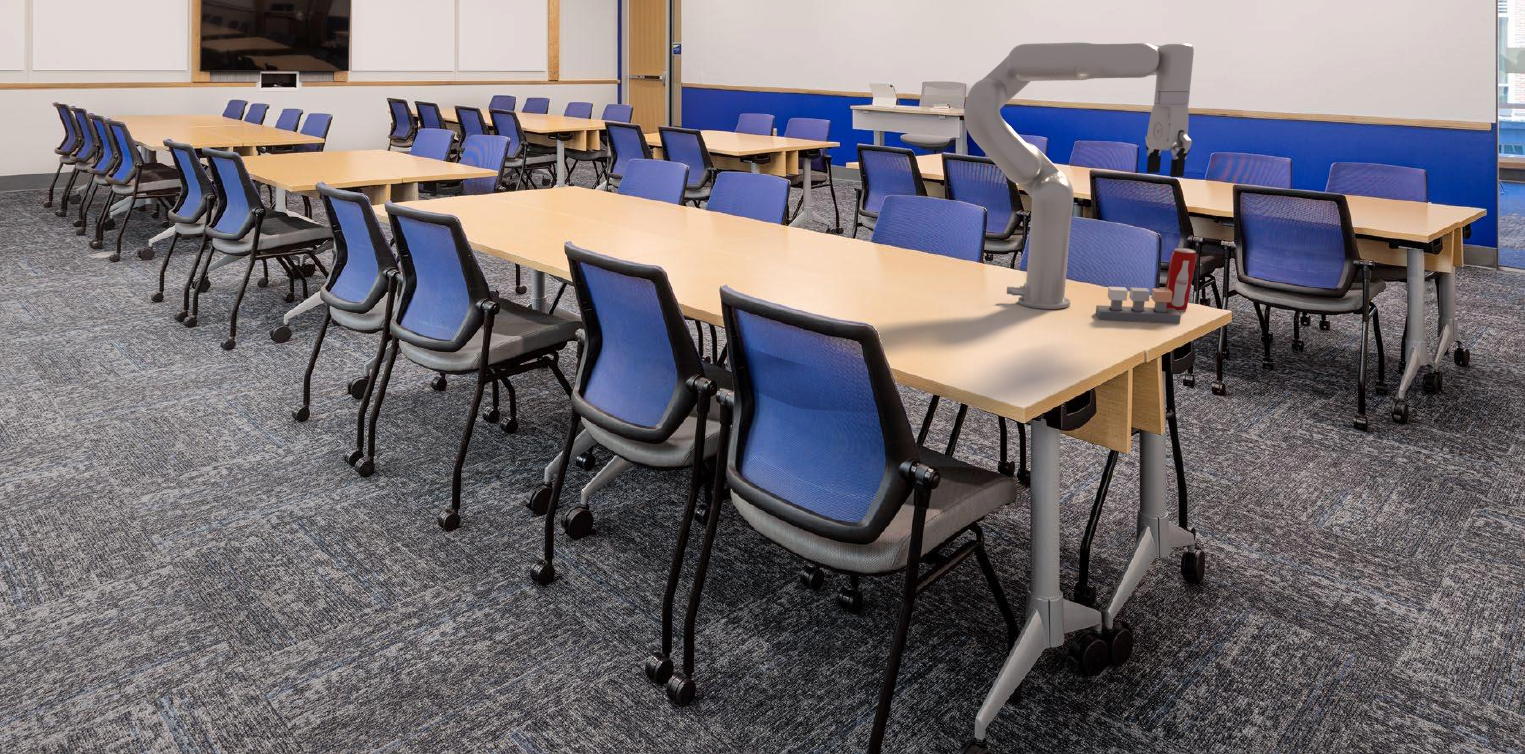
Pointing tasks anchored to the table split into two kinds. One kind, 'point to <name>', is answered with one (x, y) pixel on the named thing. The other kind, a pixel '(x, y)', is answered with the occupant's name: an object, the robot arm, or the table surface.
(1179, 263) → the beverage can
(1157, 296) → the key terracotta
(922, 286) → the table surface
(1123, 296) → the key white
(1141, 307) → the key grey
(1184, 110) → the robot arm
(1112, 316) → the grey key base
